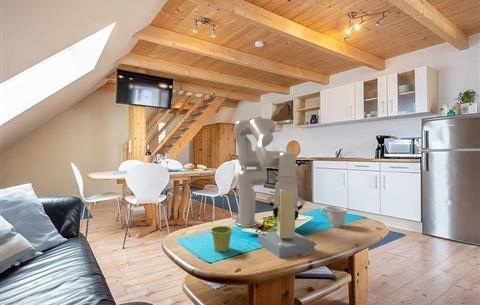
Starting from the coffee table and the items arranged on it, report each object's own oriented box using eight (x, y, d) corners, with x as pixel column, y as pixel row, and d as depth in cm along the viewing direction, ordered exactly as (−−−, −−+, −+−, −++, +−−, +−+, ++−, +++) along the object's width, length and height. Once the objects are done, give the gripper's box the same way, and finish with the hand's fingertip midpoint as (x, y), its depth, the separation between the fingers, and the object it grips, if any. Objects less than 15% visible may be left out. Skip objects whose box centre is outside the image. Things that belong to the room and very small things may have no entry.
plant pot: (224, 255, 105) (224, 234, 105) (206, 250, 110) (206, 230, 110) (236, 248, 113) (236, 228, 113) (219, 243, 118) (219, 224, 118)
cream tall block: (274, 232, 120) (275, 187, 119) (290, 232, 120) (291, 187, 120) (277, 238, 112) (279, 190, 111) (294, 238, 112) (296, 190, 112)
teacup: (318, 222, 156) (318, 205, 156) (343, 223, 154) (344, 206, 154) (321, 228, 144) (322, 210, 144) (349, 229, 142) (350, 211, 142)
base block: (279, 257, 104) (279, 245, 104) (257, 242, 120) (258, 231, 120) (314, 251, 111) (314, 239, 111) (289, 237, 128) (290, 227, 128)
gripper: (265, 179, 115) (264, 218, 115) (305, 182, 109) (304, 223, 109) (269, 177, 122) (268, 214, 122) (307, 180, 116) (306, 218, 116)
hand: (285, 218), depth 116 cm, fingers closed on cream tall block, 8 cm apart
